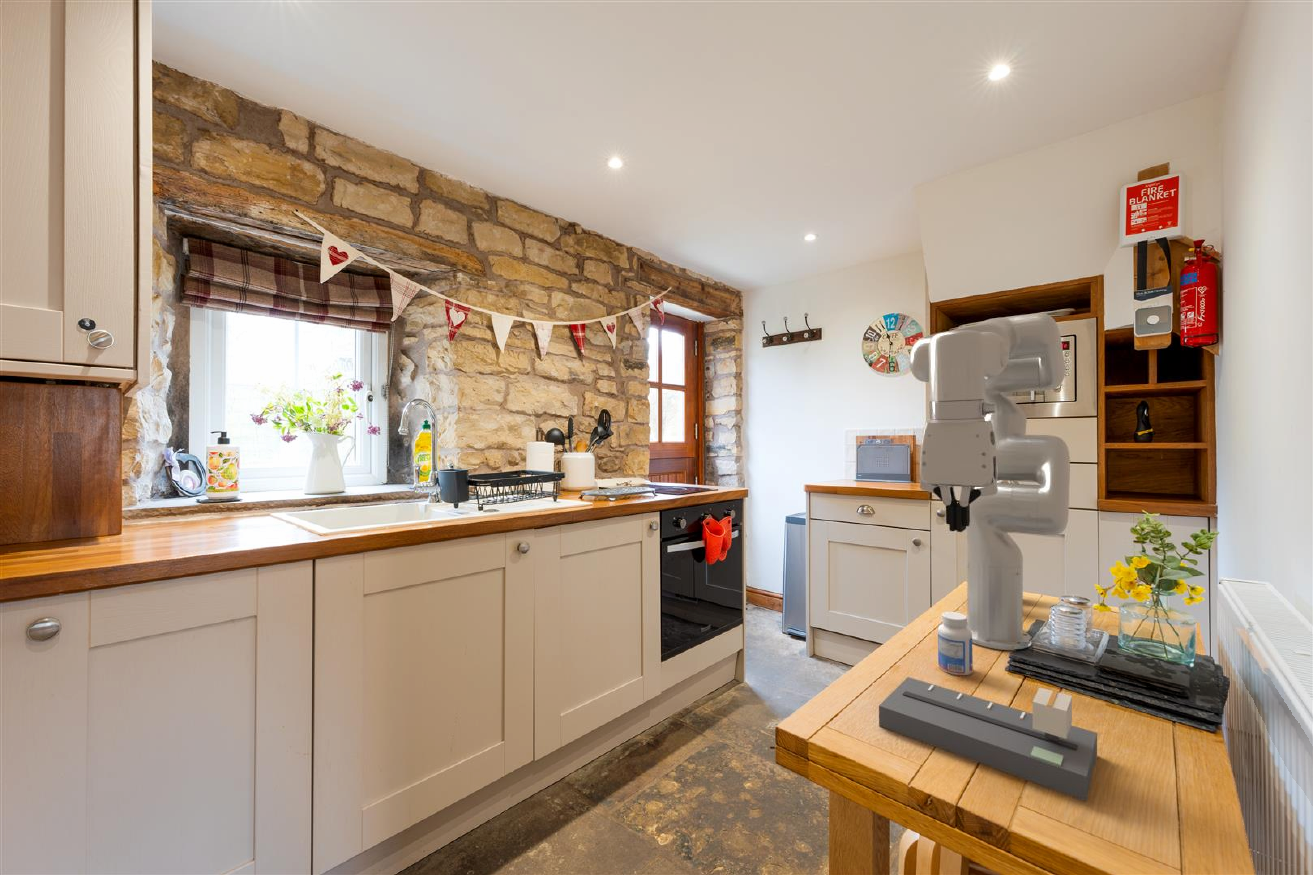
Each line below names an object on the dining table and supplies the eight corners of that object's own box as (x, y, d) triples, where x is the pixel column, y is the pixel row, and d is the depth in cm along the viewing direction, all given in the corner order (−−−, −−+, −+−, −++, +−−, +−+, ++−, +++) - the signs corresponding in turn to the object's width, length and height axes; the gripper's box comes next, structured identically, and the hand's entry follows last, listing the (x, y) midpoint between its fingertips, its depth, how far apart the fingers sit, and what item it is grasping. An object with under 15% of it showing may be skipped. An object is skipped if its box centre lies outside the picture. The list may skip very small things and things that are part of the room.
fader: (1039, 723, 74) (1039, 686, 74) (1071, 733, 71) (1072, 695, 71) (1032, 739, 70) (1032, 700, 70) (1066, 750, 68) (1066, 710, 68)
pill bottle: (954, 660, 101) (954, 608, 101) (979, 673, 96) (979, 618, 96) (930, 665, 99) (930, 612, 99) (955, 678, 94) (955, 622, 94)
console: (907, 695, 89) (907, 675, 89) (1097, 755, 72) (1097, 731, 72) (878, 725, 80) (878, 704, 80) (1086, 801, 64) (1086, 774, 64)
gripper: (1018, 410, 82) (1019, 531, 83) (913, 412, 92) (915, 520, 93) (1008, 412, 77) (1008, 541, 78) (897, 414, 87) (899, 528, 88)
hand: (957, 529), depth 86 cm, fingers closed
